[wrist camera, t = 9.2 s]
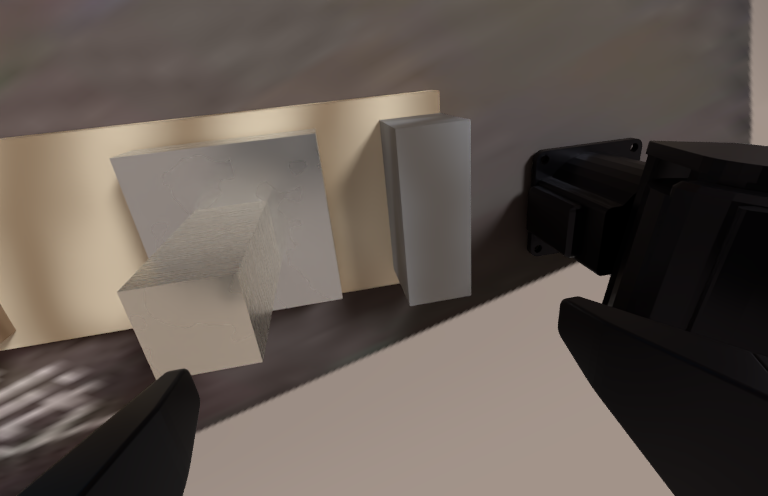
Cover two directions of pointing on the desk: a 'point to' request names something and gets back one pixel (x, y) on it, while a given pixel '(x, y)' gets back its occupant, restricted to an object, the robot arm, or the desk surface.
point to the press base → (330, 119)
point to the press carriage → (225, 245)
